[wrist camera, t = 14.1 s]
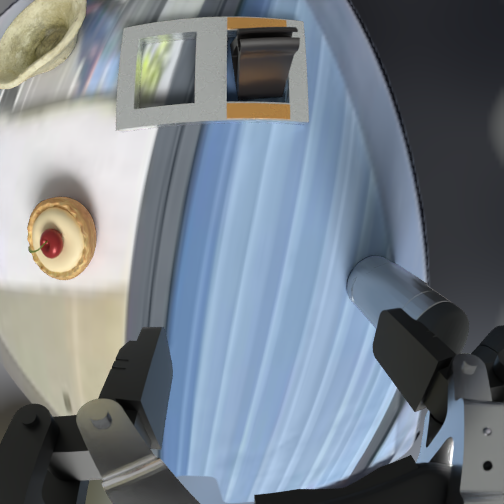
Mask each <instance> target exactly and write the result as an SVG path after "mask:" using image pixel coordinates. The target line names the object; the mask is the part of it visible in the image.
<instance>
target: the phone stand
mask: <svg viewBox="0 0 504 504" xmlns="http://www.w3.org/2000/svg"><path fill="white" fill-rule="evenodd" d="M293 32H298V29H297V28H296V27H256V28H240V29H237V36H236V38H235V39H234V40H233V42H232V43H231V44H230V48H231V55H232V62H233V69H234V75H235V82H236V89H237V96H238V101H239V100H248V99H259V98H271V97H282V95H283V92H284V88H285V85H286V81H287V78H288V74H289V71H290V67H291V64H292V60H293V57H294V54H295V53H296V52H297V51H298V49H299V45H300V38H298V37H292V33H293Z"/></svg>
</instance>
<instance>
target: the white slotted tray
mask: <svg viewBox="0 0 504 504" xmlns="http://www.w3.org/2000/svg"><path fill="white" fill-rule="evenodd" d="M256 27H296V28H297V29H298V32H293V33H292V37H298V38H300V45H299V49H298V51H297V52H296V53H295V54H294V57H293V60H292V64H291V67H290V71H289V74H288V78H287V81H286V85H285V103H279V102H227V38H236V36H237V29H240V28H256ZM188 39H196V63H195V103H189V104H176V105H166V106H157V107H149V108H141V109H139V98H140V78H141V64H142V52H143V45H147V44H153V43H160V42H168V41H177V40H188ZM308 122H309V115H308V85H307V65H306V49H305V35H304V23H303V21H295V20H287V19H276V18H262V17H202V18H188V19H178V20H169V21H162V22H155V23H148V24H143V25H137V26H132V27H127V28H124V31H123V38H122V46H121V54H120V63H119V74H118V88H117V108H116V131H120V132H128V131H135V130H142V129H151V128H160V127H170V126H182V125H197V124H219V123H276V124H298V125H304V124H306V123H308Z"/></svg>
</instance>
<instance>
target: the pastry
mask: <svg viewBox="0 0 504 504" xmlns="http://www.w3.org/2000/svg"><path fill="white" fill-rule="evenodd" d="M27 230H28V242H29V244H30V247H28V248H29V252H30V253H32V256H33V260H34V261H35V262H36V264H37V265H38V266H39V267H40V269H41V270H42V271H43V272H45V273H46V274H47V275H49V276H50V277H53V278H56V279H59V280H69V279H72V278H74V277H76V276H78V275H79V274H80V273H81V272H83V271H84V270H85V268H86V267H87V266H88V264H89V263H90V261H91V259H92V257H93V254H94V251H95V247H96V229H95V225H94V221H93V219H92V217H91V215H90V213H89V212H88V210H87V209H86V208H85V207H84V206H83V205H82V204H81V203H79V202H78V201H76V200H74V199H71V198H68V197H54V198H50V199H47V200H44V201H41V202H40V203H39V204H38V205H37V206H36V207H35V209H34V210H33V212H32V213H31V216H30V219H29V223H28V227H27Z"/></svg>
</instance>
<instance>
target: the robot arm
mask: <svg viewBox="0 0 504 504" xmlns="http://www.w3.org/2000/svg"><path fill="white" fill-rule="evenodd" d="M347 292H348V296H349V298H350V300H351V301H352V302H353V303H354V304H355V305H356V306H357V308H358V309H359V310H360V311H361V312H362V313H363V314H364V316H365V317H366V318H367V319H368V320H369V321H370V322H371V323H372V325H373V326H374V327H375V328H376V333H375V337H374V342H373V353H374V356H375V358H376V359H377V361H378V362H379V363H380V365H381V366H382V368H383V369H384V370H385V372H386V373H387V374H388V376H389V377H390V378H391V380H392V381H393V382H394V384H395V385H396V387H397V388H398V389H399V391H400V392H401V393H402V395H403V396H404V398H405V399H406V400H407V402H408V403H409V405H410V406H411V407H412V409H413V410H414V412H417V411H419V410H422V409H424V408H426V407H427V409H428V412H427V414H426V416H425V423H424V431H423V437H422V443H421V450H420V454H419V457H418V460H417V462H416V463H415V461H414V459H413V458H412V456H411V455H410V456H408V457H406V458H403V459H401V460H398V461H396V462H393V463H390V464H388V465H385V466H382V467H380V468H378V469H376V470H375V471H373V472H371V473H370V474H368V475H366V476H365V477H363V478H361V479H360V480H358V481H356V482H354V483H353V484H351V485H349V486H347V487H344V488H339V489H296V490H290V491H284V492H277V493H269V494H260V495H254V499H255V504H504V325H503V326H497V327H495V328H494V329H493V330H492V331H491V332H490V333H489V334H488V335H487V336H486V337H485V339H484V340H483V341H482V342H481V343H480V345H479V346H478V347H477V348H476V349H475V350H474V351H473V352H472V353H471V354H468V353H461V351H462V349H463V347H464V345H465V343H466V340H467V336H468V332H469V322H468V318H467V315H466V314H465V312H463V310H462V309H460V308H459V307H457V306H456V305H455V304H453V303H452V302H450V301H449V300H447V299H446V298H445V297H443V296H442V295H440V294H439V293H437V292H436V291H434V290H432V289H431V288H430V287H428V285H427V283H425V282H424V281H422V280H421V279H419V278H418V277H416V276H415V275H413V274H412V273H410V272H408V271H407V270H405V269H404V268H402V267H401V266H399V265H398V264H396V263H392V262H391V261H389V260H387V259H386V258H384V257H382V256H370V257H367V258H365V259H363V260H362V261H361V262H359V263H358V264H357V265H356V266H355V267H354V269H353V270H352V272H351V274H350V276H349V278H348V283H347ZM172 376H173V369H172V361H171V356H170V351H169V346H168V341H167V336H166V331H165V329H164V327H143V328H142V329H141V332H140V334H139V337H138V339H137V341H129V342H127V343H126V344H125V345H124V346H123V347H122V348H121V349H120V350H119V352H118V355H117V357H116V361H114V363H113V366H112V369H111V370H110V372H109V375H108V377H107V379H106V381H105V384H104V386H103V388H102V391H101V393H100V396H99V398H98V399H95V400H92V401H89V402H87V403H86V404H84V405H83V406H82V407H81V408H80V409H79V411H78V413H77V415H72V416H59V417H52V415H51V414H50V412H49V410H48V409H47V408H46V407H44V406H42V405H40V404H29V405H26V406H24V407H22V408H20V409H19V410H18V411H17V412H16V414H15V415H14V417H13V419H12V421H11V423H10V425H9V427H8V429H7V431H6V433H5V435H4V437H3V439H2V441H1V444H0V504H85V500H86V495H87V488H88V484H89V480H98V479H103V481H102V486H103V488H104V490H105V492H106V494H107V496H108V497H109V499H110V501H111V502H112V504H200V503H199V502H198V501H197V500H196V499H195V498H194V497H193V496H192V495H191V494H190V493H189V491H188V490H187V489H186V488H185V487H184V486H183V485H182V484H181V483H180V481H179V480H178V479H177V478H176V477H175V476H174V474H173V473H172V472H171V471H170V470H169V468H168V467H167V466H166V465H165V464H164V462H163V461H162V460H161V459H160V458H157V457H156V456H155V455H154V454H153V452H152V451H151V450H150V449H161V448H162V441H163V434H164V427H165V420H166V413H167V407H168V401H169V395H170V389H171V383H172Z"/></svg>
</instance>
